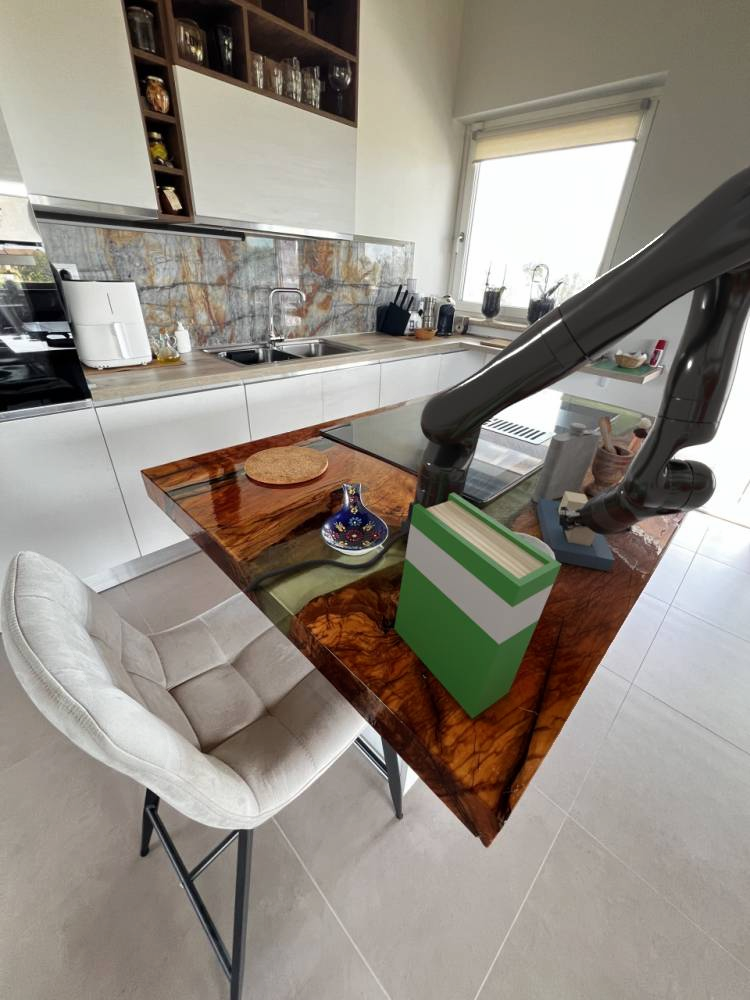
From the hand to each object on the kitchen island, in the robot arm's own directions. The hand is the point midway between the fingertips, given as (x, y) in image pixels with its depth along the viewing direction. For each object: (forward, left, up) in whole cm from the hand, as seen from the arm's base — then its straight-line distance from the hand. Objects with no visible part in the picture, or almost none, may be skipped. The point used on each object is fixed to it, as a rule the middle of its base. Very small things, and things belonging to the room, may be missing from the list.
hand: (577, 528), depth 90 cm
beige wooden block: (+4, +5, -4) cm, 8 cm away
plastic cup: (-27, -8, -4) cm, 29 cm away
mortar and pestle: (+27, +15, -4) cm, 31 cm away
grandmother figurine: (+64, +28, -4) cm, 70 cm away
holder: (+2, +2, -4) cm, 5 cm away
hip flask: (+14, +17, -4) cm, 22 cm away
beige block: (-1, -1, -4) cm, 4 cm away
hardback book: (-44, -14, -4) cm, 46 cm away
